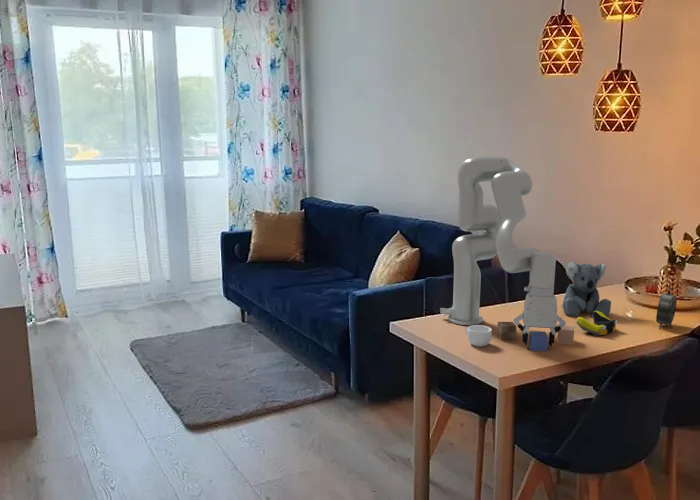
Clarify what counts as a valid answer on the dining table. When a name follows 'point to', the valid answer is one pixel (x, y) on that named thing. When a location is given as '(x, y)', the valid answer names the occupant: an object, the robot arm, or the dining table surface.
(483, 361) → the dining table surface
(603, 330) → the yellow black angled piece
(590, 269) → the koala plush
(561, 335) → the beige cube
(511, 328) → the walnut block
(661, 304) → the alarm clock
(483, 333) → the teacup
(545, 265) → the robot arm
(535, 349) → the blue cube
